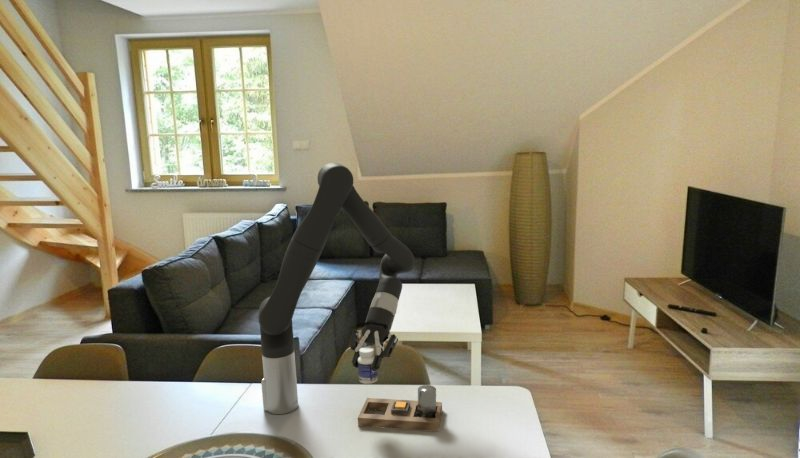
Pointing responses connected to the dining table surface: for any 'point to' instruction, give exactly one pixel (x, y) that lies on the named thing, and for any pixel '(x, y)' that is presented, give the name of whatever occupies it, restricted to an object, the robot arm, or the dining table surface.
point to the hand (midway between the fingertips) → (364, 368)
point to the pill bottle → (366, 366)
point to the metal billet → (427, 401)
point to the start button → (400, 405)
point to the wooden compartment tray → (397, 415)
